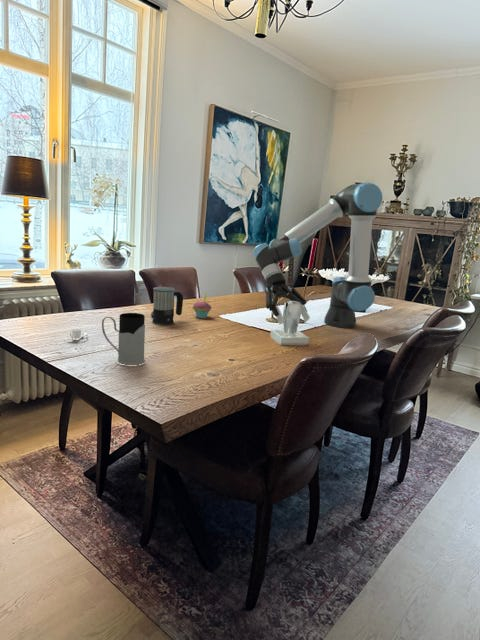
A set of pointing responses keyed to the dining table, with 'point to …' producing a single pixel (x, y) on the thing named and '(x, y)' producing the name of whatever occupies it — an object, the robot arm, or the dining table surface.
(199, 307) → the cupcake
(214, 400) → the dining table surface
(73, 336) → the teacup and saucer
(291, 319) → the beer glass
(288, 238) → the robot arm
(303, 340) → the cup holder
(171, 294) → the milk frother
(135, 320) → the glass holder
